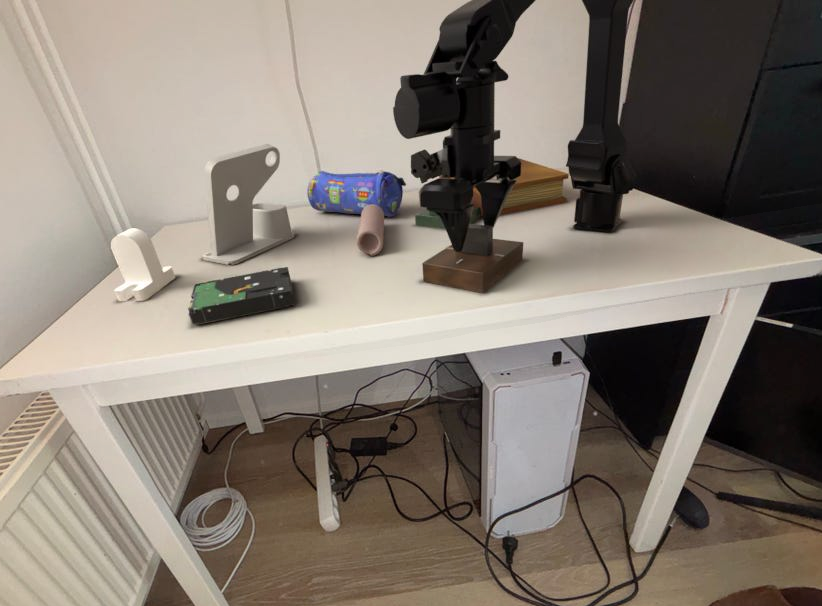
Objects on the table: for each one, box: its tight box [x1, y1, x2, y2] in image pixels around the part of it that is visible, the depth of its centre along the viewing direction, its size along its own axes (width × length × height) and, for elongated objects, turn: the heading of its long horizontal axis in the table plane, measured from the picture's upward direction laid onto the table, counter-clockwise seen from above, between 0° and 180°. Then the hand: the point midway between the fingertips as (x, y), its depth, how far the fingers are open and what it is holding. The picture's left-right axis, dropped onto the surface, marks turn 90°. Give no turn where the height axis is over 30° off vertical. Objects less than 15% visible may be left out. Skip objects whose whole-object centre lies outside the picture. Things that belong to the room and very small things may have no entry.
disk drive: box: [187, 266, 295, 325], centre depth 73 cm, size 10×3×15 cm
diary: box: [438, 157, 570, 218], centre depth 105 cm, size 23×19×6 cm
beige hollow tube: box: [356, 204, 385, 257], centre depth 91 cm, size 5×5×18 cm
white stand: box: [110, 227, 176, 302], centre depth 81 cm, size 5×10×10 cm, turn 170°
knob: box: [456, 223, 494, 256], centre depth 72 cm, size 6×2×4 cm, turn 52°
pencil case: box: [306, 169, 407, 218], centre depth 107 cm, size 22×9×10 cm, turn 58°
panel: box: [421, 238, 524, 294], centre depth 74 cm, size 10×13×3 cm
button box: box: [414, 207, 481, 230], centre depth 96 cm, size 10×8×4 cm
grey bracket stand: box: [202, 143, 295, 266], centre depth 93 cm, size 17×10×18 cm, turn 145°
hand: (473, 240), depth 72 cm, fingers open, 9 cm apart
